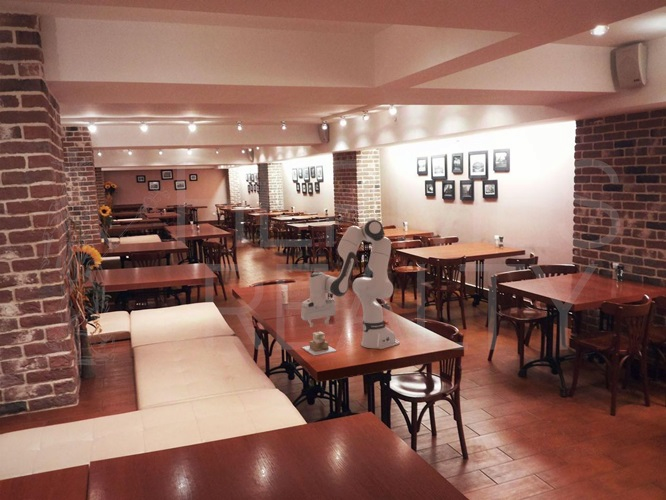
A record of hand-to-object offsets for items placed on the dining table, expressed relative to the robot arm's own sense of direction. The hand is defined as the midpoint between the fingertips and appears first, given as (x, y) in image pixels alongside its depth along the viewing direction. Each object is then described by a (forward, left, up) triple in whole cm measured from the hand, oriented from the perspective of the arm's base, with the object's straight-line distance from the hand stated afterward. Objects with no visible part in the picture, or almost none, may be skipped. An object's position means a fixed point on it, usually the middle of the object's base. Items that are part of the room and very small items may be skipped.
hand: (319, 325), depth 297 cm
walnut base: (+1, 0, -14) cm, 14 cm away
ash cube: (0, 0, -10) cm, 9 cm away
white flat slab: (+1, 0, -14) cm, 14 cm away
